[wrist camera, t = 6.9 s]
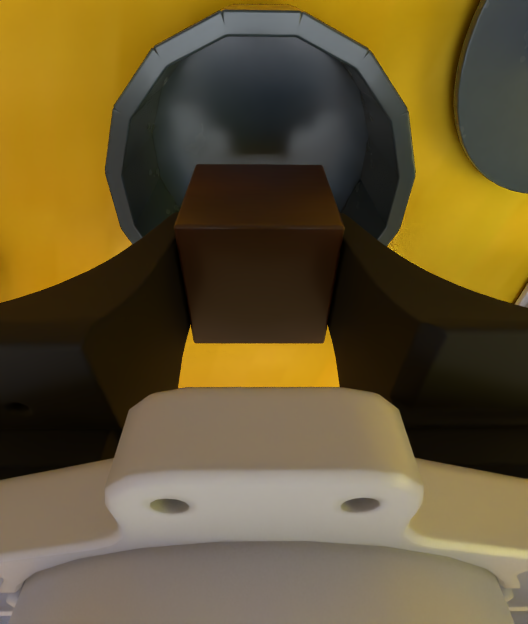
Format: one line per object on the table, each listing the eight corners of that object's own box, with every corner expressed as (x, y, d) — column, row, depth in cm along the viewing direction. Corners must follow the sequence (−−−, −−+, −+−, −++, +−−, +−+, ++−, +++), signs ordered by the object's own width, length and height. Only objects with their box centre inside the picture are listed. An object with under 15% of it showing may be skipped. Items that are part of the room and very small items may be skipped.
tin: (405, 5, 14) (464, 12, 10) (354, 252, 21) (375, 312, 17) (115, 1, 14) (56, 6, 10) (165, 251, 21) (144, 312, 17)
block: (323, 163, 11) (345, 226, 8) (310, 268, 14) (324, 344, 11) (195, 162, 11) (171, 225, 8) (207, 268, 14) (193, 344, 11)
